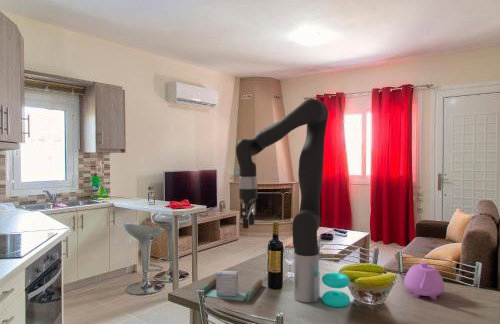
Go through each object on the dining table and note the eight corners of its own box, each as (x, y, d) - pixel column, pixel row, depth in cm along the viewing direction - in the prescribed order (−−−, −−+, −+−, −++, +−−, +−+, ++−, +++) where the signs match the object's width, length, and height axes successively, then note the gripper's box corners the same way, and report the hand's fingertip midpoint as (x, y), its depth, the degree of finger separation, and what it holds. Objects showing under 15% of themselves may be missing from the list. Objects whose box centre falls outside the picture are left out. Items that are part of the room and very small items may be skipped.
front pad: (249, 294, 142) (249, 293, 142) (243, 301, 136) (243, 300, 136) (211, 289, 147) (211, 289, 147) (204, 296, 141) (204, 295, 141)
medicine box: (238, 292, 144) (238, 271, 143) (236, 297, 139) (236, 274, 139) (218, 291, 145) (218, 270, 145) (216, 296, 140) (216, 273, 140)
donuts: (355, 278, 131) (331, 281, 128) (355, 306, 131) (331, 310, 128) (339, 270, 140) (316, 273, 137) (339, 296, 141) (316, 299, 137)
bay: (262, 285, 152) (262, 279, 152) (248, 301, 135) (248, 295, 135) (217, 280, 158) (217, 274, 158) (199, 295, 141) (199, 289, 141)
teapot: (449, 307, 130) (449, 272, 129) (406, 302, 134) (406, 268, 134) (440, 288, 149) (440, 258, 148) (402, 284, 153) (402, 255, 153)
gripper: (252, 188, 143) (252, 230, 143) (261, 186, 157) (261, 223, 157) (233, 188, 145) (234, 229, 145) (244, 186, 159) (245, 223, 159)
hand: (248, 226), depth 151 cm, fingers open, 8 cm apart
